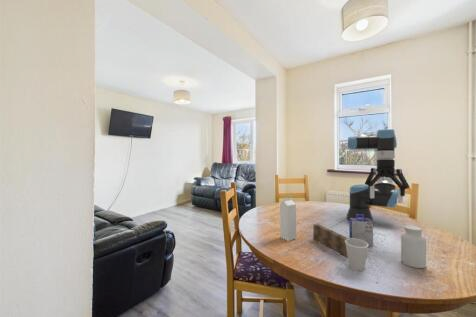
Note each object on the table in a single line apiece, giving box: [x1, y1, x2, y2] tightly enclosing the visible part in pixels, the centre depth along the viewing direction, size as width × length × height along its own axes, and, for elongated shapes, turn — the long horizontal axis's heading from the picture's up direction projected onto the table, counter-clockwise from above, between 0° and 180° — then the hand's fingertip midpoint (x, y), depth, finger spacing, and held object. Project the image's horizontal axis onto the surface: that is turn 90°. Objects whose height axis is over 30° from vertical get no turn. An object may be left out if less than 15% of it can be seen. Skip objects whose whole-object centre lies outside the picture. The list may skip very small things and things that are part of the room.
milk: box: [279, 197, 297, 242], centre depth 115 cm, size 6×6×22 cm
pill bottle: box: [400, 225, 427, 269], centre depth 88 cm, size 8×8×15 cm
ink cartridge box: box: [348, 214, 374, 247], centre depth 107 cm, size 10×6×14 cm, turn 78°
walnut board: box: [312, 223, 349, 259], centre depth 104 cm, size 22×2×8 cm, turn 19°
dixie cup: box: [345, 238, 369, 272], centre depth 86 cm, size 8×8×10 cm
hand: (385, 200), depth 111 cm, fingers open, 13 cm apart
